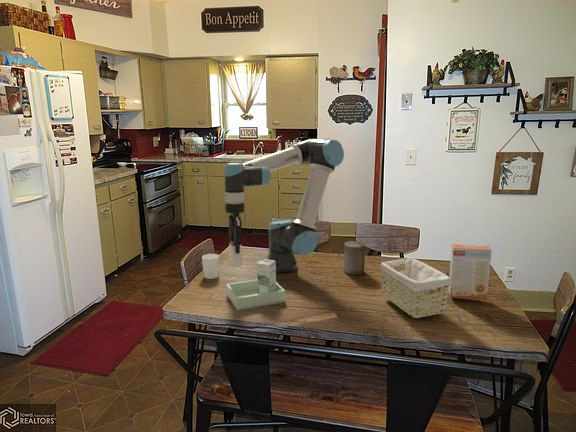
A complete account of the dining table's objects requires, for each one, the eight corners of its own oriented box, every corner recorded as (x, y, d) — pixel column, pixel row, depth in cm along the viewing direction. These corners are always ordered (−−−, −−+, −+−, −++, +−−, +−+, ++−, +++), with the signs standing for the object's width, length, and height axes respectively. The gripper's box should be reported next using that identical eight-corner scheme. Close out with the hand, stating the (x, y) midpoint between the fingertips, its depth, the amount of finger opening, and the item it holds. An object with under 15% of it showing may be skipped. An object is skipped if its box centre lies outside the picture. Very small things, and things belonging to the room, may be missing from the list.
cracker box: (484, 294, 168) (489, 245, 164) (487, 300, 163) (492, 250, 158) (447, 291, 172) (451, 243, 167) (449, 297, 166) (453, 247, 161)
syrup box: (276, 293, 169) (276, 260, 165) (269, 299, 163) (269, 264, 160) (264, 291, 171) (263, 258, 168) (257, 296, 166) (256, 262, 163)
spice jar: (240, 262, 171) (240, 240, 169) (243, 266, 167) (242, 243, 165) (228, 263, 170) (228, 241, 168) (230, 267, 165) (230, 244, 163)
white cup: (216, 280, 186) (215, 259, 183) (200, 279, 187) (199, 258, 185) (222, 274, 193) (221, 254, 191) (206, 273, 195) (205, 253, 192)
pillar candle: (367, 270, 197) (368, 240, 194) (359, 276, 189) (360, 245, 186) (348, 266, 202) (349, 237, 199) (340, 272, 194) (340, 242, 191)
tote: (271, 288, 176) (271, 277, 175) (285, 302, 162) (285, 290, 161) (226, 295, 169) (226, 284, 168) (237, 311, 155) (236, 298, 154)
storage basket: (450, 314, 151) (453, 276, 148) (413, 321, 146) (415, 282, 143) (411, 290, 173) (413, 257, 170) (377, 295, 168) (379, 261, 165)
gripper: (221, 199, 170) (222, 253, 175) (229, 206, 153) (231, 266, 158) (238, 198, 172) (239, 251, 177) (249, 205, 156) (250, 264, 161)
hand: (235, 258), depth 168 cm, fingers closed on spice jar, 5 cm apart
